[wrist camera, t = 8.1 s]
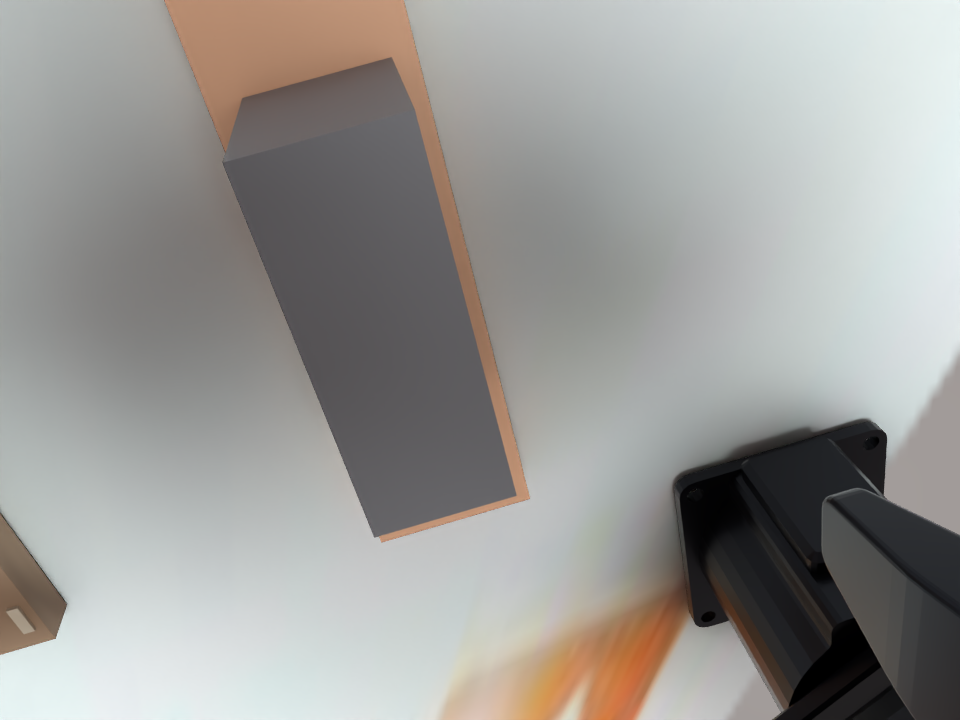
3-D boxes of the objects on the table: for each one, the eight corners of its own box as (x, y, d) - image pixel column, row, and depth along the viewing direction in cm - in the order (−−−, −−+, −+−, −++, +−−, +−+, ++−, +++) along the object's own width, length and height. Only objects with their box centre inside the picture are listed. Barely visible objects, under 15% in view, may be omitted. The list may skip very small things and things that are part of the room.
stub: (522, 475, 23) (571, 617, 19) (379, 518, 23) (394, 670, 19) (352, -188, 15) (371, -214, 10) (124, -128, 15) (43, -128, 10)
